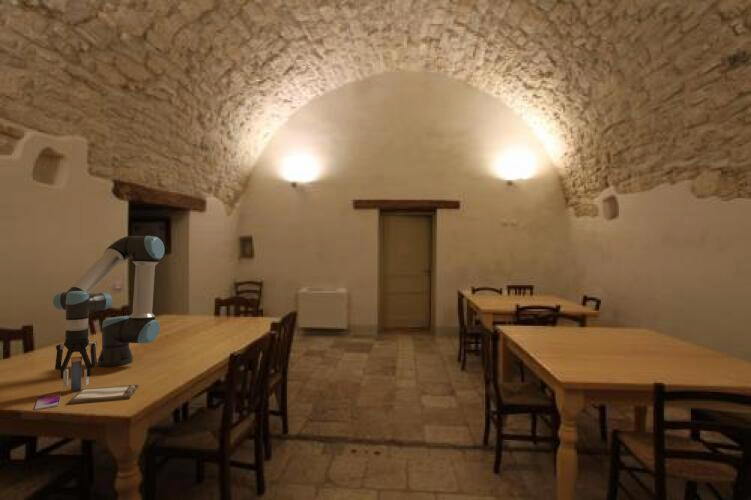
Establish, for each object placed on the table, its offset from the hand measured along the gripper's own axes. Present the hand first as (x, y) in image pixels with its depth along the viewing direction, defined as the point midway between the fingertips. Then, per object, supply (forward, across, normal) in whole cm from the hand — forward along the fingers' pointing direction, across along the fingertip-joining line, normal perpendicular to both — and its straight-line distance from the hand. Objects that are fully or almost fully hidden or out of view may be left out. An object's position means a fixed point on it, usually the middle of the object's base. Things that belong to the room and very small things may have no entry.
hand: (76, 385), depth 165 cm
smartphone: (+3, -5, -12) cm, 13 cm away
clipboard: (+2, +13, -10) cm, 17 cm away
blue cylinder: (+2, 0, 0) cm, 2 cm away
